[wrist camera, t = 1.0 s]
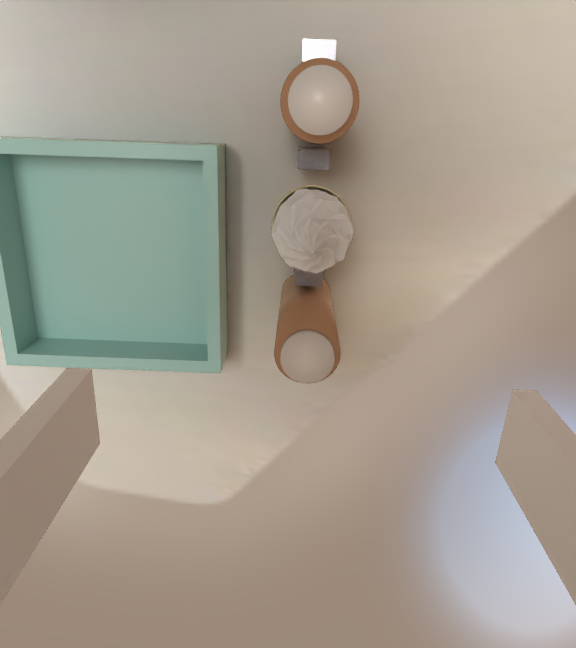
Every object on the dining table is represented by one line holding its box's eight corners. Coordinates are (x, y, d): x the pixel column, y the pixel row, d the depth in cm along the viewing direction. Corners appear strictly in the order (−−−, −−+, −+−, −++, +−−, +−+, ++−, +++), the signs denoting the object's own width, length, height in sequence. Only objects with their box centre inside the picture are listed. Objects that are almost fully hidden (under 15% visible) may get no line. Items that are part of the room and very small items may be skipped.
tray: (-1, 136, 38) (-34, 136, 35) (225, 144, 38) (216, 145, 34) (31, 345, 44) (6, 365, 41) (227, 352, 44) (220, 373, 40)
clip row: (302, 53, 36) (302, 38, 30) (330, 54, 36) (336, 39, 30) (292, 335, 44) (290, 366, 38) (315, 336, 43) (317, 367, 38)
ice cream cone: (292, 250, 41) (287, 312, 27) (266, 190, 39) (248, 222, 25) (351, 226, 40) (378, 277, 26) (328, 163, 39) (344, 182, 24)
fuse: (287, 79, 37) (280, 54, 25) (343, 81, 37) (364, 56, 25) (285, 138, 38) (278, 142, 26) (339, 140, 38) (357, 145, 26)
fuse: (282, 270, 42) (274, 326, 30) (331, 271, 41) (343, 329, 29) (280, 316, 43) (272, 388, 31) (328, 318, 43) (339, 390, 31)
